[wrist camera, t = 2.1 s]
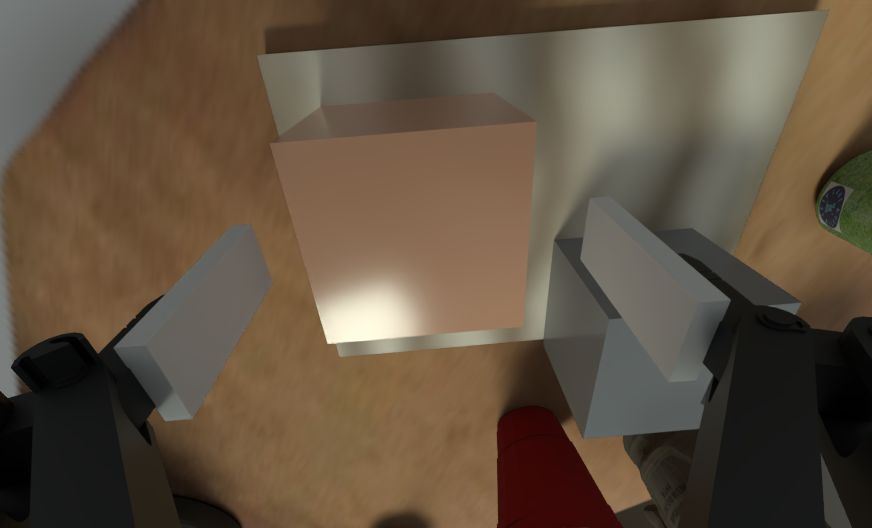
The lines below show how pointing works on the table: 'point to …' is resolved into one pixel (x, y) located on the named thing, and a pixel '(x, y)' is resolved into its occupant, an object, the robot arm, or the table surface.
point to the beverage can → (849, 202)
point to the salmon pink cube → (412, 213)
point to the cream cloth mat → (592, 122)
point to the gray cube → (630, 344)
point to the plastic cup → (545, 476)
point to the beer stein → (664, 471)
